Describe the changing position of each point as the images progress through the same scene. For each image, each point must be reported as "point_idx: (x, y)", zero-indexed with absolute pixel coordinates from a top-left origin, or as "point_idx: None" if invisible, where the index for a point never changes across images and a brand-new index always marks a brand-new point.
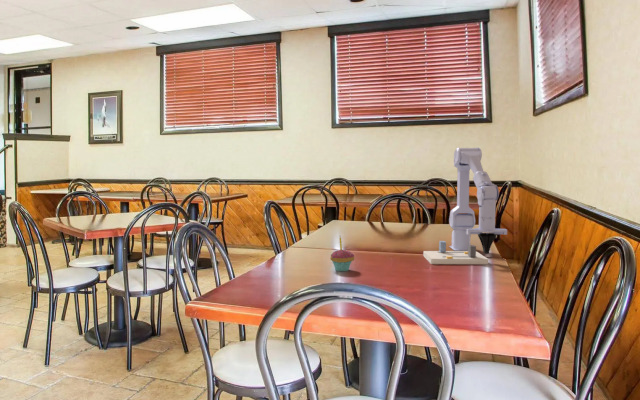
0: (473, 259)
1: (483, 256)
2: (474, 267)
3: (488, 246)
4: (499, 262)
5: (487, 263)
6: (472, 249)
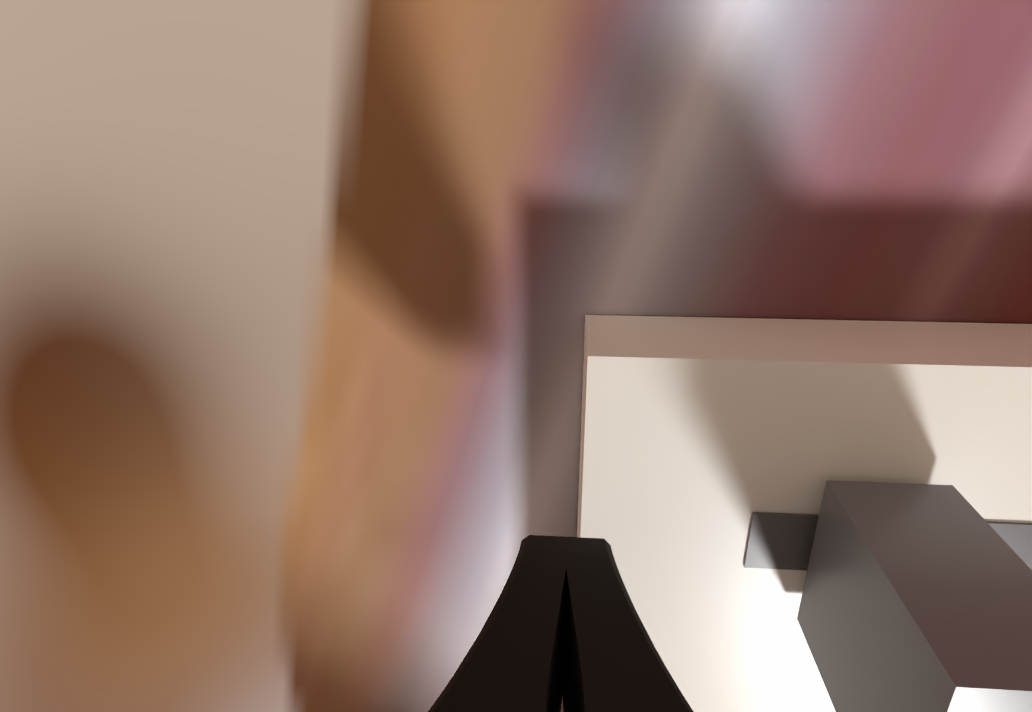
0: (929, 360)
1: None
2: (1025, 9)
3: (540, 657)
4: (334, 455)
5: (600, 319)
6: (1014, 614)
